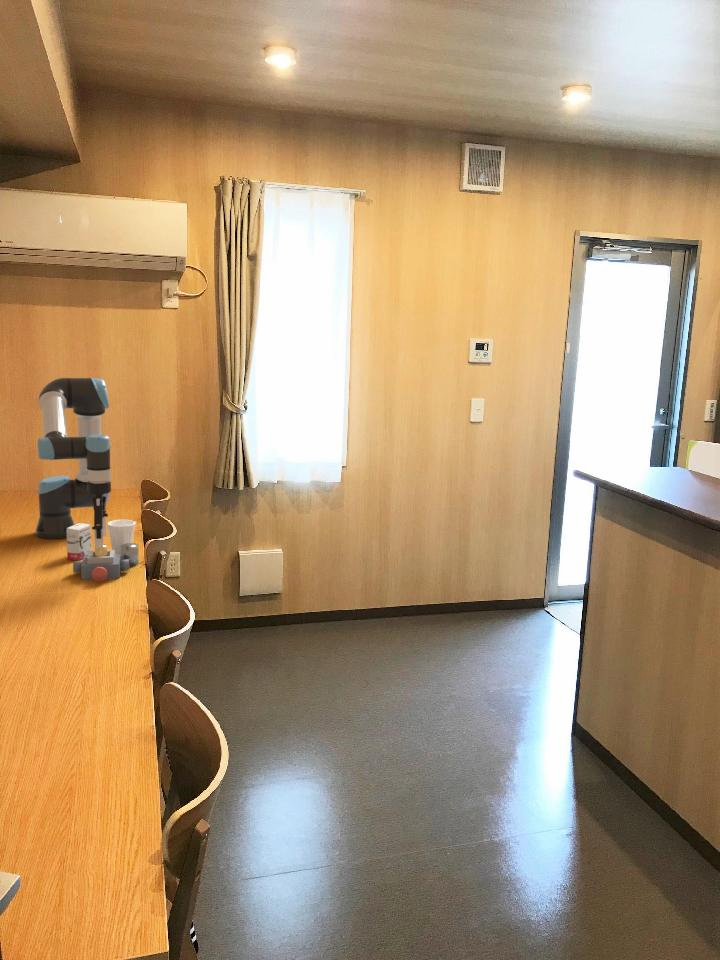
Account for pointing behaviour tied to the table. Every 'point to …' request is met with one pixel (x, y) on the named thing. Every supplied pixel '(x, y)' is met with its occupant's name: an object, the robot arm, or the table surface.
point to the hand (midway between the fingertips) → (100, 541)
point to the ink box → (78, 541)
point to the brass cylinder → (101, 551)
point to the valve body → (101, 566)
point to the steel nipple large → (130, 553)
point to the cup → (121, 533)
